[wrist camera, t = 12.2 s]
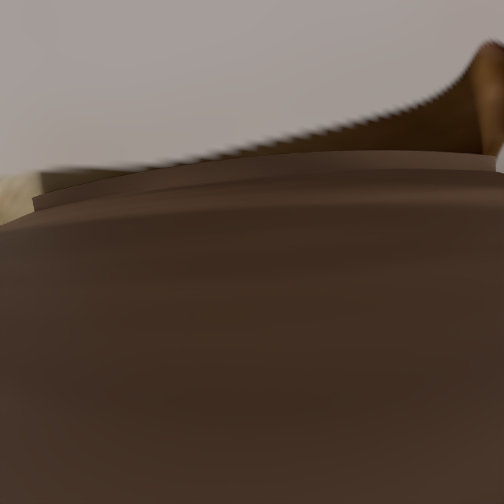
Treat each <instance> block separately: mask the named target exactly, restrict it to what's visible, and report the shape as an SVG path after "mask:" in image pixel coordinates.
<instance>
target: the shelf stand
mask: <svg viewBox="0 0 504 504" xmlns="http://www.w3.org/2000/svg"><path fill="white" fill-rule="evenodd" d="M32 200H33V205H34V210H35V212H32V213H30V214H28V215H25V216H23V217H20V218H18V219H16V220H14V221H11V222H9V223H7V224H4V225H2V226H0V504H504V174H503V173H499V172H496V157H494V156H488V155H481V154H469V153H454V152H436V151H406V150H356V151H325V152H305V153H290V154H276V155H265V156H254V157H244V158H234V159H226V160H217V161H209V162H202V163H194V164H187V165H181V166H174V167H168V168H162V169H156V170H150V171H144V172H139V173H133V174H128V175H123V176H118V177H113V178H108V179H103V180H99V181H94V182H90V183H85V184H81V185H77V186H73V187H68V188H64V189H60V190H56V191H53V192H49V193H45V194H42V195H39V196H36V197H33V198H32Z"/></svg>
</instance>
